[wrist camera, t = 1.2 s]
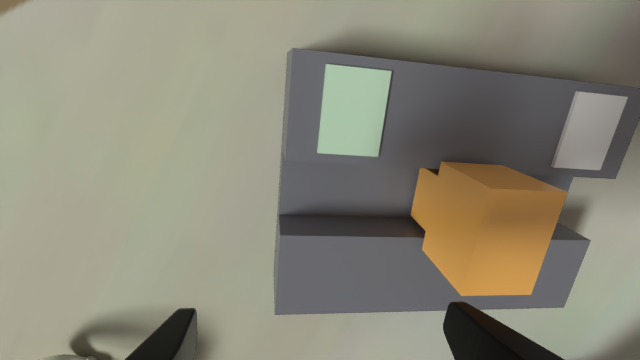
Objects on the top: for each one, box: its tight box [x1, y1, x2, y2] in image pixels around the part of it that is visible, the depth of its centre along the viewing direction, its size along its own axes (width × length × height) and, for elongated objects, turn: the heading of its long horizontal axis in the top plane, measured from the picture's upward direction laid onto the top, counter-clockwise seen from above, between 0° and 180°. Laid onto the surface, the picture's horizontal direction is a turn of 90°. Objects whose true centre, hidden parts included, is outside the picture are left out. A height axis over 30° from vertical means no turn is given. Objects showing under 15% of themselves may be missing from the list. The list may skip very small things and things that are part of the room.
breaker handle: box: [411, 162, 568, 296], centre depth 17 cm, size 4×5×6 cm
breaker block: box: [274, 48, 640, 315], centre depth 20 cm, size 19×14×4 cm
